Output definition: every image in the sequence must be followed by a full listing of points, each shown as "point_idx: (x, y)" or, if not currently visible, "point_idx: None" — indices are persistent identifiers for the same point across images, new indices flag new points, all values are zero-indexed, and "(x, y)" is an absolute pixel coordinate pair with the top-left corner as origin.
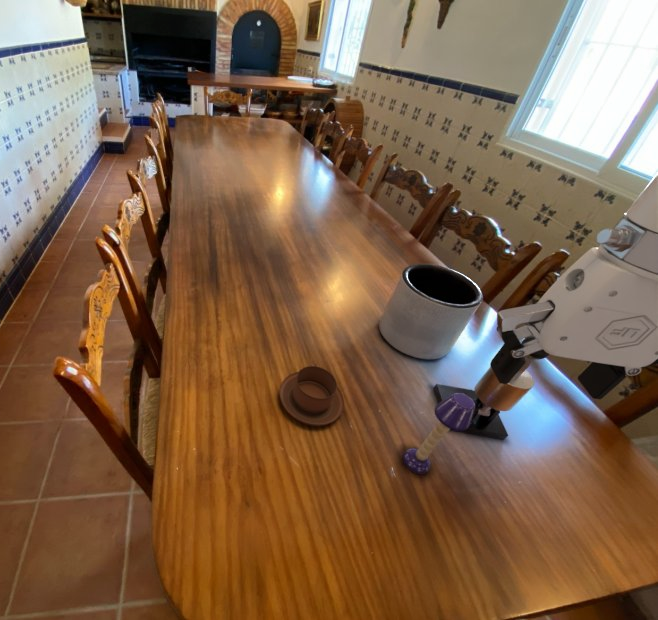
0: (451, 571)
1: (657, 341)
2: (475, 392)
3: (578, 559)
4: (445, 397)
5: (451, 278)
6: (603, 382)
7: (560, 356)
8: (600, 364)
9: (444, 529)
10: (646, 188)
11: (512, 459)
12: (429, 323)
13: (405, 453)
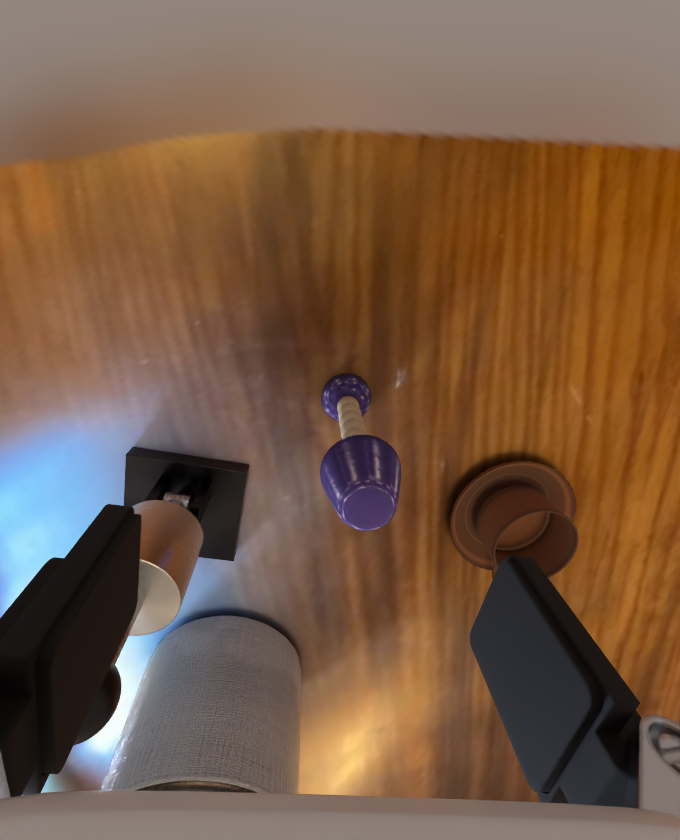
0: (370, 199)
1: None
2: (202, 543)
3: (99, 212)
4: (228, 531)
5: None
6: (100, 595)
7: (673, 822)
8: (71, 714)
9: (347, 272)
10: None
11: (135, 406)
12: (244, 714)
13: (365, 412)
